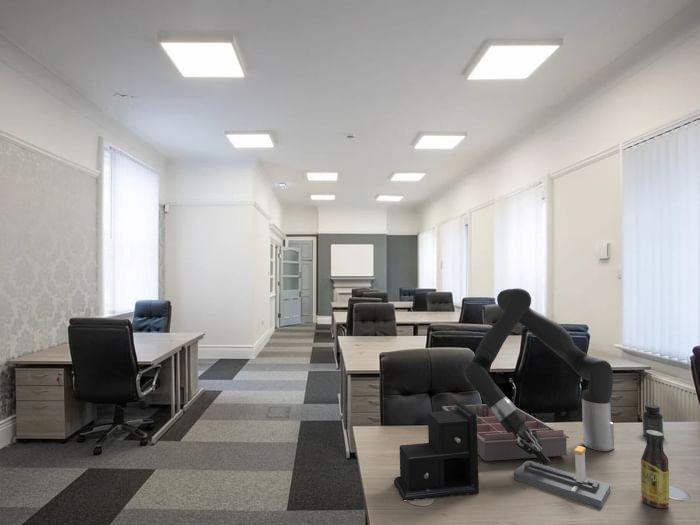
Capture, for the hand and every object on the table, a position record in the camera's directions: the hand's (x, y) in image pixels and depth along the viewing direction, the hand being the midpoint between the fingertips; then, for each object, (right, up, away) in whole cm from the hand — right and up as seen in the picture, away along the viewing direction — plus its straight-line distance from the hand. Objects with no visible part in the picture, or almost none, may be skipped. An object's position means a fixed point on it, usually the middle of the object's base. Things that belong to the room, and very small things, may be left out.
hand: (547, 463), depth 125 cm
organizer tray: (-3, -8, +32) cm, 33 cm away
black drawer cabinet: (-36, -6, -4) cm, 37 cm away
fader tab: (+7, -3, -6) cm, 10 cm away
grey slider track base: (+3, -5, -3) cm, 7 cm away
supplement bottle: (+61, -7, +36) cm, 71 cm away
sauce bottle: (+24, -5, -13) cm, 28 cm away
